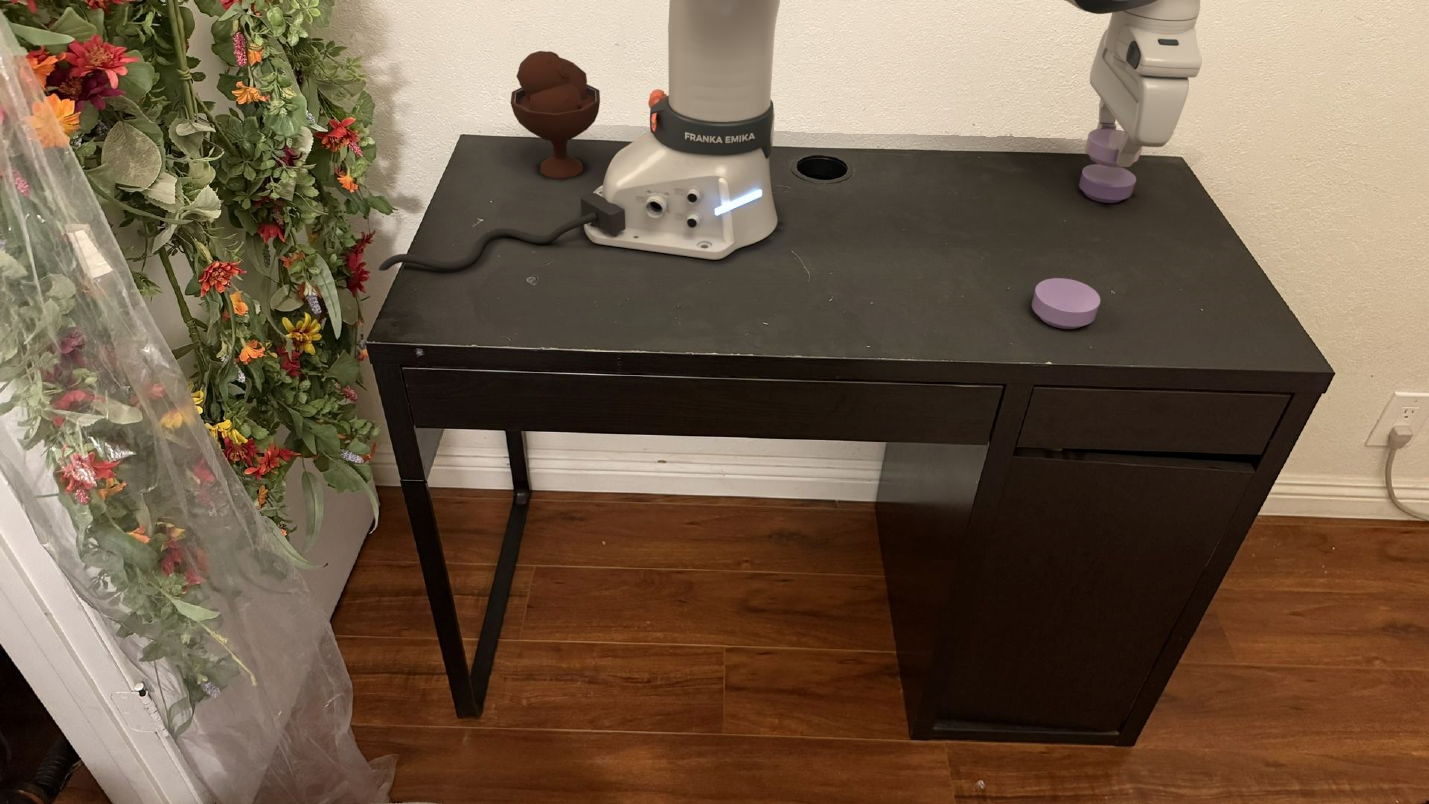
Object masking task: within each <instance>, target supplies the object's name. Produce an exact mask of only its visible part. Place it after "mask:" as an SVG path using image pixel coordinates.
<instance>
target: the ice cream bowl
mask: <svg viewBox="0 0 1429 804" xmlns="http://www.w3.org/2000/svg"><path fill="white" fill-rule="evenodd" d="M515 77H516V79H517V81H518V83H519V86H520V87H519V88H517V89H514V90H512V91H511V96H510V106H511V110H512V112H513V115H514V117H515V119H516V120H517V122H518V124H519V125H521V127H523V128H524V129H526V130H527V132H530V133H531V134H533V135H535V136H536V137H539V138H540V139H543V140H544V141H548V142H550V143H551V145H552V151H553V152H552V153H553V155H551V156H550V157H548V158H547V159H545V160H543V161H542V162H540V171H539V172H540V174H542V175H543V176H546V177H548V178H553V179H567V178H573V177H576V176H577V175H579V174H580V173H582V172H583V170H584V169H583V166H584V165H583V163H582V161H581V160H579V159H578V158H576V157H574V156H572V155H569V154H568V149H567V144H568V141H571V140H573V139H574V138H576V137H578V136H579V135H581V134H582V133H583V132H586V131H587V130H588V129H589V128H590V127H591V126H592V125H594V123H595V122H596V119H597V118H598V114H599V112H600V111H599V110H600V105H601V93H600V89H598V88H596V87H594V86H593V85H590V84H588V77H587V73H586V72H585V71H584V70H583V69H582V68H581V67H579V66H578V65H577V64H575V63H574V62H573V61H571V60H568V59H566V58H563V57H560V56H559V55H558V53H556V52H553V51H550V50H549V51H545V50H539V51H534V52H531V53H529V55H527V56H526V57H525V58H524V59H523V60H522V61H521V62H520V63H519V66H518V71H517V73H516V76H515Z"/></svg>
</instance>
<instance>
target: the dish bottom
mask: <svg viewBox="0 0 1429 804" xmlns="http://www.w3.org/2000/svg"><path fill="white" fill-rule="evenodd" d="M1136 182H1137V177H1136V176H1135V174H1134V173H1132V172H1131V171H1130V170H1128V169H1127V168H1125V167H1121V168H1114V167H1107V166H1103V165H1100V164H1098V163H1094V164H1093V163H1092V164H1089V165H1086V166H1085V167H1083V168H1082V170H1081V174H1080V177H1079V181H1078V187H1079V189H1080V190H1081V191H1082V192H1083V194H1084V195H1085V197H1087V198H1089V199H1090V200H1093V201H1095V202H1098V203H1104V204H1116V203H1120V202H1121V201H1123V200H1127V199H1128V198H1130V197H1131V196H1132V195H1133V192H1134V189H1135V186H1136V184H1137V183H1136Z"/></svg>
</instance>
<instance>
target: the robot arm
mask: <svg viewBox="0 0 1429 804" xmlns="http://www.w3.org/2000/svg"><path fill="white" fill-rule="evenodd" d="M1063 1H1065V2H1067V3H1068V4H1071V5H1072V6H1074V7H1075V8H1077V9H1079V10H1081V11H1084V12H1087V13H1091V14H1095V15H1105V14H1106V15H1107V14H1111V15H1110V19H1109V23H1108V26H1107V28H1106V29H1105V30H1104V32H1103V34H1102V36H1101V38H1100V41H1099V43H1098V47H1097V49H1096V52H1095V55H1094V58H1093V61H1092V65H1091V68H1090V72H1089V84H1090V85H1091V87H1092V88H1093V90H1094V91H1095V92H1096V94H1097V95H1098V97H1099V98H1100V100H1099V104H1098V122H1097V126H1096V129H1102V128H1109V129H1117V124H1116V122H1117V123H1118V125H1119V126H1120V128H1122V131H1125V132H1124V136H1123V138H1124V139H1125V140H1124V142H1123V143H1122V145H1121V147H1117V149H1116V153H1115V156H1114V160H1115V162H1116V164H1117V165H1118V166H1119V167H1121V168H1130V167H1131V166H1133V164H1134V163H1133V161H1134V158H1135V155H1136V153H1137V152H1138V151H1139V149H1140V148H1141V147H1142V146H1143V147H1144V148H1145V147H1146V148H1160V147H1161V148H1162V147H1165V145H1166V144H1167V143H1169V141H1170V140H1171V138H1172V136H1173V135H1174V133H1175V131H1176V128H1177V125H1178V123H1179V120H1180V117H1181V115H1182V112H1183V110H1184V106H1185V104H1186V101H1187V98H1188V94H1189V89H1190V81H1189V78H1191V79H1193V78H1196V77H1198V75H1199V72H1200V70H1201V67H1202V61H1203V59H1202V55H1201V53H1200V49H1199V46H1198V42H1197V29H1196V28H1195V27H1196V24H1197V21H1198V17H1199V14H1200V10H1201V0H1063ZM780 3H781V0H669V5H668V6H669V7H668V8H669V9H668V25H667V35H668V36H667V42H668V43H667V47H668V48H667V53H668V55H667V57H668V59H667V61H668V63H667V64H668V66H667V67H668V69H667V70H668V95H667V94H666V93H665V91H664V90H663V89H660V88H657V89H653V90H652V91H651V93H650V94H649V97H648V103H647V104H648V107H649V131H647V132H646V133H644V134H643V135H641V136H639V137H638V138H637V139H635V140H634V141H632V142H630V143H629V144H628V145H626V146H625V147H623V148H622V149H620V150H618V152H616V154H615V155H613V156H614V157H613V158H612V159H611V161H610V162H609V164H608V167H607V169H606V172H605V175H604V179H603V182H602V183H603V184H602V185H600V186H599V187H598V188H596V189H595V190H594V191H593V192H592V193H590V194H587V195H584V196H582V197H580V208H581V217H578V218H576V219H572V220H570V221H567V222H566V223H564V224H561V225H560V226H558V227H557V228H556V229H554V230H553V231H552V232H551V233H549V234H547V235H543V236H541V235H532V234H528V233H526V232H523V231H520V230H517V229H513V228H507V227H506V228H505V227H504V228H503V227H501V228H495V229H492V230H489V231H487V232H485V233H484V234H483V235H481V236H480V237H479V238H478V240H477V241H476V243H475V245H474V248H473V249H472V251H471V253H470V254H469V255H468V256H466V257H465V258H462V259H459V260H455V261H442V260H436V259H432V258H428V257H425V256H422V255H417V254H411V253H399V254H395V255H392V256H390V257H388V258H386V259H385V261H383V262H382V263H381V264H380V266H379V267H378V271H381V272H385V271H388V270H389V269H390V268H391V267H393V266H395V265H398V264H400V263H411V264H415V265H420V266H424V267H428V268H430V269H435V270H441V271H457V270H462V269H464V268H467V267H469V266H471V265H472V264H474V263H475V262H476V261H477V260H478V259H479V257H480V256H481V254H482V252H483V250H484V248H485V246H486V244H487V243H488V242H490V241H491V240H492V239H496V238H500V237H501V238H502V237H509V238H514V239H516V240H520V241H522V242H525V243H529V244H533V245H547V244H551V243H553V242H555V241H556V240H558V239H559V238H560V237H561V236H563V235H564V234H565V233H567V232H570V231H572V230H574V229H577V228H579V227H581V226H583V230H584V232H585V234H586V236H587V237H588V239H589V240H590V241H591V242H592V243H594V244H597V245H604V246H611V247H617V248H618V247H619V248H625V249H633V250H639V251H647V252H654V253H655V252H656V253H661V254H669V255H675V256H676V255H677V256H684V257H685V256H686V257H690V258H691V257H692V258H698V259H706V260H714V261H715V260H721V259H725V258H726V257H727V256H729V255H730V254H732V253H733V252H735V251H736V250H738V249H740V248H743V247H747V246H749V245H753V244H756V243H757V242H761V241H762V240H764V239H765V238H767V237H768V236H770V235H771V234H772V233H773V232H774V231H775V229H776V228H777V225H778V220H779V219H778V215H777V211H776V206H775V201H774V197H773V191H772V182H771V169H770V156H771V153H772V149H773V146H774V137H775V136H774V135H775V110H774V101H773V100H772V99H771V98H772V81H773V80H772V79H773V65H774V63H773V62H774V49H775V47H774V46H775V34H776V25H777V20H778V19H777V18H778V13H779V10H780V9H779V8H780Z"/></svg>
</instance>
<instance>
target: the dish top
mask: <svg viewBox="0 0 1429 804" xmlns="http://www.w3.org/2000/svg"><path fill="white" fill-rule="evenodd" d="M1124 132H1125V131H1124V130H1123V129H1117V128H1116V129H1109V128H1102V129H1097V128H1096V129H1092V130H1091V131H1089V132H1088V134H1087V138H1086V141H1085V145H1084V151H1085V154H1087V155H1088V156H1089V159H1090V160H1091V161H1092V162H1094V163H1095V164H1100V165H1103V166H1107V167H1114V168H1122V167H1119V166H1118V165H1117V164H1116V162H1115V160H1114V156H1115V153H1116V149H1117V147H1121V145H1122V143H1123V142H1124V140H1125V139H1124V138H1123V136H1124ZM1143 147H1144V146H1142V147H1141V148H1140V149H1139V151H1138V152H1137V153H1136V155H1135V158H1134V161H1133V164H1134V163H1136V162H1138V160H1140V158H1141V157H1140V156H1141V154H1142V151H1143Z"/></svg>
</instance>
